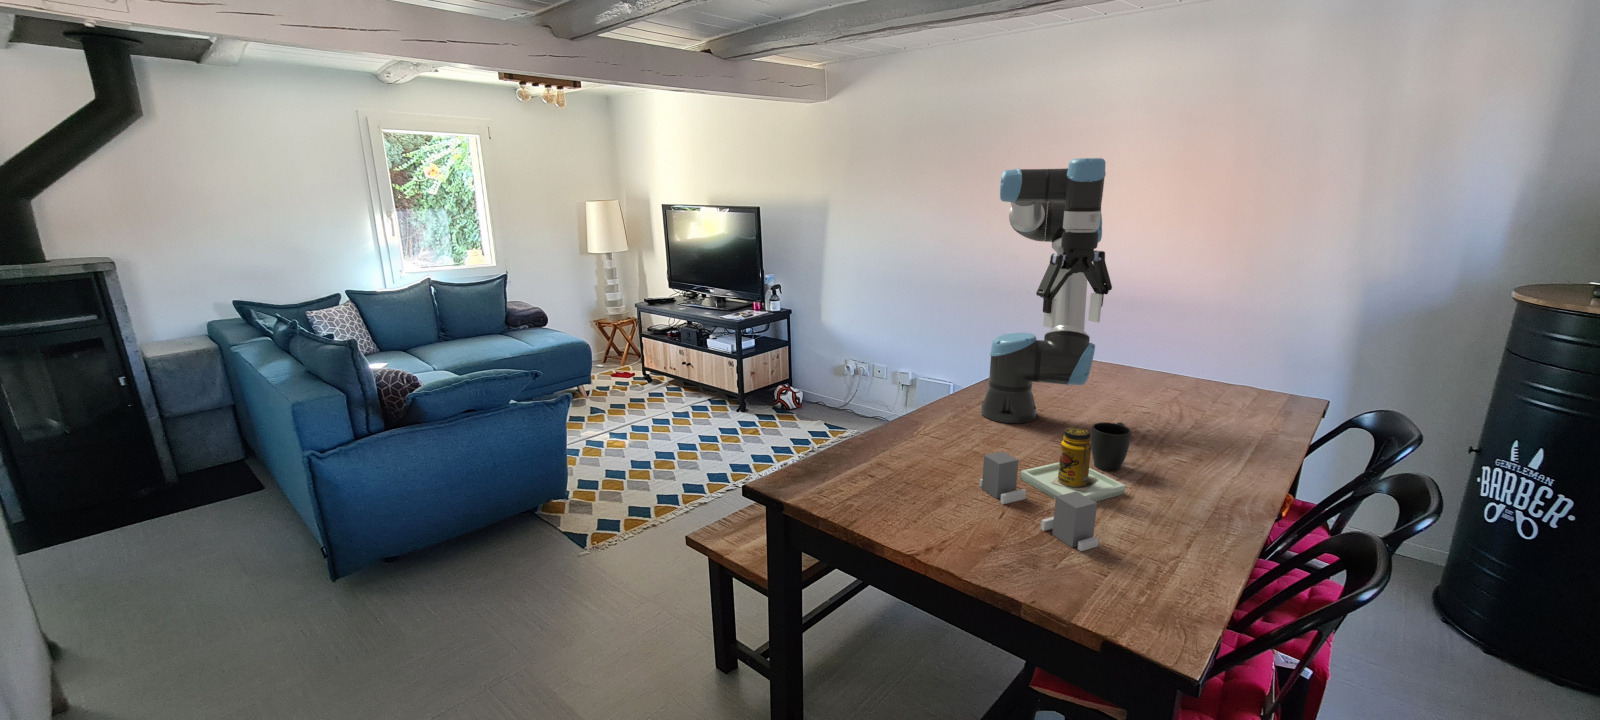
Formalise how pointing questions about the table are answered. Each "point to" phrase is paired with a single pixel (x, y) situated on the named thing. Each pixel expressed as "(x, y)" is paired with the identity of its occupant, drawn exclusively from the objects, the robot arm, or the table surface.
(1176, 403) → the table surface
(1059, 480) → the condiment
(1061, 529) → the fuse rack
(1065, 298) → the robot arm
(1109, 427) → the mug
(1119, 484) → the tray
